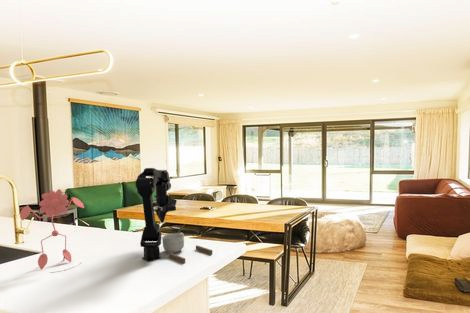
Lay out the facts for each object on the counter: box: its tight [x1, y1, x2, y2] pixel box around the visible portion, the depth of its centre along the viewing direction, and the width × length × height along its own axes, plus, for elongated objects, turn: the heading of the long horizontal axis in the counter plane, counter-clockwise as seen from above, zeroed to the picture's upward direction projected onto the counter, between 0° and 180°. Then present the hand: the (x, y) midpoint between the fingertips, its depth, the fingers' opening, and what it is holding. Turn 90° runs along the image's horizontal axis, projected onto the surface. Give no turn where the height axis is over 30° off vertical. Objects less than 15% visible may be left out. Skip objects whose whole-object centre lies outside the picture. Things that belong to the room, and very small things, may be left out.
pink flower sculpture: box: [19, 188, 85, 274], centre depth 154 cm, size 15×26×35 cm, turn 132°
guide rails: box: [168, 244, 213, 264], centre depth 166 cm, size 17×12×2 cm
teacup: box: [161, 232, 185, 254], centre depth 175 cm, size 14×11×8 cm
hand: (162, 222), depth 183 cm, fingers closed
